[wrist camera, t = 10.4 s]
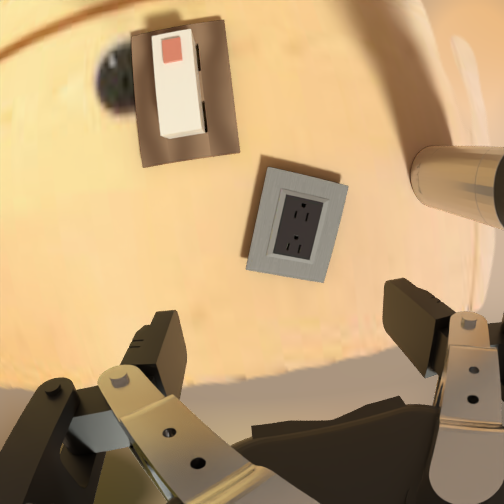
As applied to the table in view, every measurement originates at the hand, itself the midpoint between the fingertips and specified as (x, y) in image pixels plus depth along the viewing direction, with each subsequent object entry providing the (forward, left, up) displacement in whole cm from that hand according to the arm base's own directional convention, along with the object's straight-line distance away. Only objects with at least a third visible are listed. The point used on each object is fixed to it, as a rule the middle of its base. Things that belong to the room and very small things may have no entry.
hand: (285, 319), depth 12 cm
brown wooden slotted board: (+6, -16, -30) cm, 34 cm away
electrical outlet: (-6, +3, -31) cm, 31 cm away
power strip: (+6, -16, -30) cm, 35 cm away
